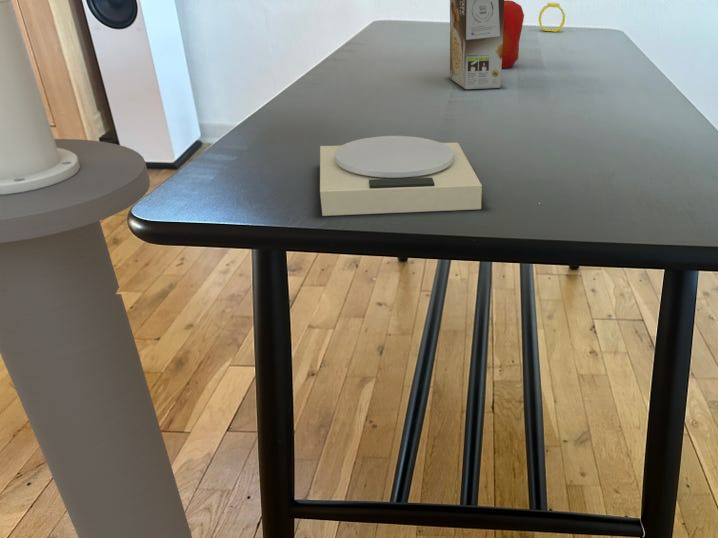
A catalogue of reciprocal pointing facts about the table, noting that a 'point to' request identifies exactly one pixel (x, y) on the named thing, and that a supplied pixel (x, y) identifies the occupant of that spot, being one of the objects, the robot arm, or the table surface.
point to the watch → (552, 6)
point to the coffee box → (476, 43)
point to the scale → (396, 177)
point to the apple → (511, 32)
